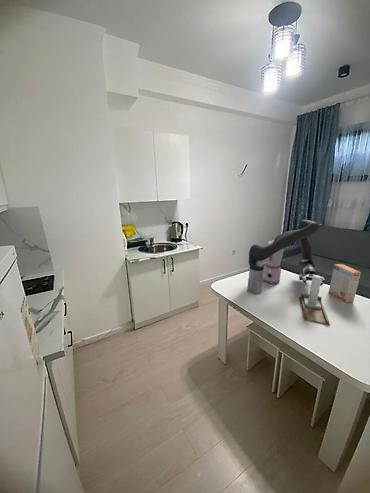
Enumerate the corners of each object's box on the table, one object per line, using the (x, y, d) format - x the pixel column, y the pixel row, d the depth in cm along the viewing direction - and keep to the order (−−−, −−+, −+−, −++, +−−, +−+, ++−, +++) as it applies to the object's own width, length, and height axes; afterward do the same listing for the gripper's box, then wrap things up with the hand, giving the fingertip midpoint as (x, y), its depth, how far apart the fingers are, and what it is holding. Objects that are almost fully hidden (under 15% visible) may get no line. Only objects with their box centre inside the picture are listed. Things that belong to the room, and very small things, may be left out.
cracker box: (353, 302, 128) (362, 272, 122) (344, 303, 127) (352, 272, 121) (336, 291, 141) (342, 263, 135) (328, 291, 141) (334, 263, 135)
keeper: (305, 306, 123) (310, 278, 118) (303, 299, 130) (308, 273, 125) (320, 309, 120) (326, 280, 115) (318, 302, 127) (323, 275, 122)
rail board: (303, 319, 113) (304, 314, 112) (299, 298, 134) (300, 292, 133) (329, 325, 108) (330, 319, 107) (320, 301, 130) (321, 296, 128)
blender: (265, 275, 166) (269, 238, 156) (281, 279, 159) (286, 240, 149) (258, 283, 154) (263, 242, 144) (275, 288, 147) (281, 245, 137)
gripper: (298, 266, 144) (301, 276, 129) (322, 269, 138) (327, 279, 124) (297, 276, 146) (299, 286, 132) (320, 279, 140) (325, 290, 126)
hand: (313, 283), depth 128 cm, fingers open, 8 cm apart
